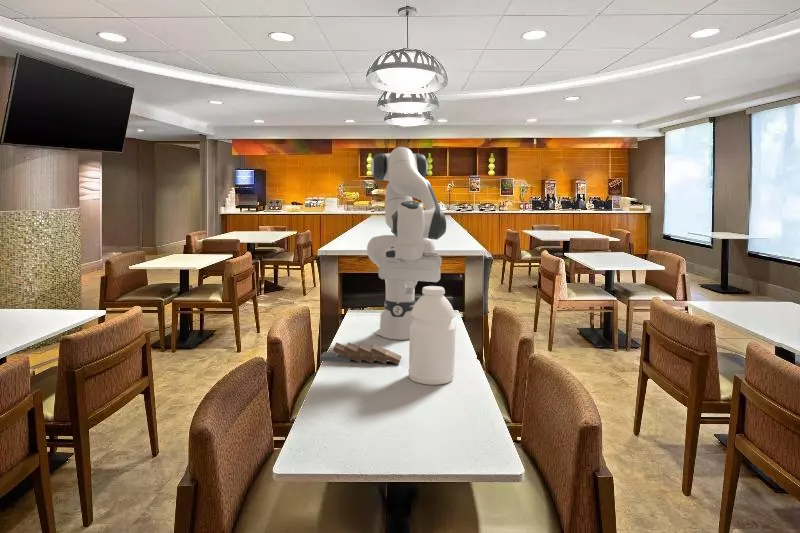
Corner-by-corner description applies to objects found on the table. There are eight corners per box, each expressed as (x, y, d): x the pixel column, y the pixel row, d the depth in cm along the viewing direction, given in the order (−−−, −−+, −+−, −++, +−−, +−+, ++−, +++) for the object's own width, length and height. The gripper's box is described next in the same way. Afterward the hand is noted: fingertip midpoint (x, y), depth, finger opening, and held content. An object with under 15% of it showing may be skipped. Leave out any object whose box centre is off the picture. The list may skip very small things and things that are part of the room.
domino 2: (372, 363, 192) (344, 351, 191) (374, 358, 197) (346, 346, 196) (374, 359, 191) (346, 347, 191) (375, 354, 196) (348, 342, 196)
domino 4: (398, 365, 190) (370, 352, 191) (400, 360, 195) (372, 348, 196) (400, 360, 190) (372, 348, 191) (401, 356, 195) (374, 343, 196)
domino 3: (385, 364, 191) (357, 351, 191) (387, 359, 196) (359, 347, 196) (387, 360, 191) (359, 347, 191) (389, 355, 196) (361, 343, 196)
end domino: (350, 362, 193) (320, 360, 194) (353, 358, 198) (324, 356, 199) (350, 357, 193) (320, 356, 194) (353, 353, 198) (324, 351, 199)
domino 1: (360, 362, 192) (332, 351, 192) (362, 357, 197) (334, 346, 197) (362, 358, 192) (334, 346, 191) (363, 353, 197) (336, 342, 196)
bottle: (413, 386, 171) (415, 292, 167) (404, 371, 184) (405, 284, 180) (459, 384, 173) (463, 291, 169) (447, 369, 187) (449, 283, 183)
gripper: (442, 251, 191) (441, 293, 194) (381, 249, 194) (380, 289, 197) (441, 255, 185) (439, 297, 188) (377, 252, 188) (377, 293, 191)
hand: (409, 293), depth 192 cm, fingers closed
